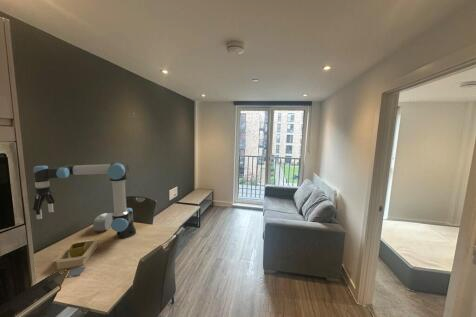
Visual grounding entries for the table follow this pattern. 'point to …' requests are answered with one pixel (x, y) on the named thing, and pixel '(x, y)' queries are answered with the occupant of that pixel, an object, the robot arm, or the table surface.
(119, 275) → the table surface
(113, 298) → the table surface
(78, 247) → the flower pot
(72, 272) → the mat
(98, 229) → the alarm clock
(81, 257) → the wooden tray
